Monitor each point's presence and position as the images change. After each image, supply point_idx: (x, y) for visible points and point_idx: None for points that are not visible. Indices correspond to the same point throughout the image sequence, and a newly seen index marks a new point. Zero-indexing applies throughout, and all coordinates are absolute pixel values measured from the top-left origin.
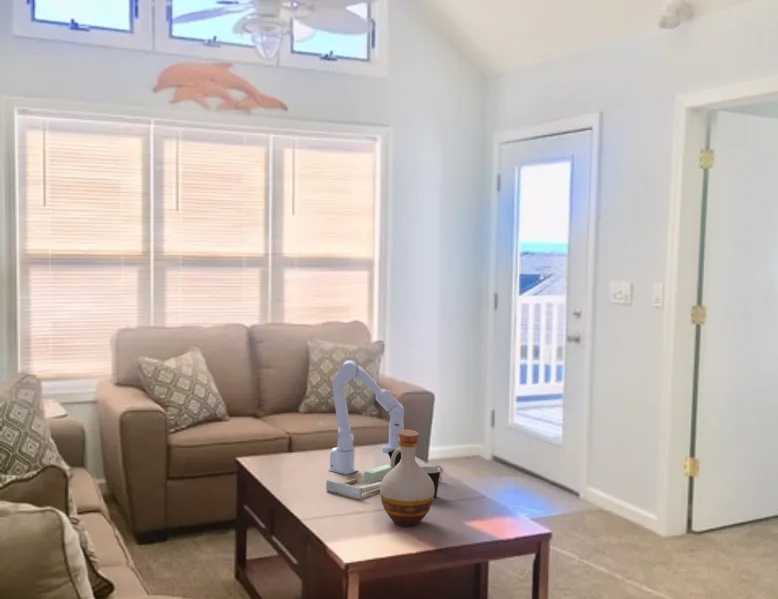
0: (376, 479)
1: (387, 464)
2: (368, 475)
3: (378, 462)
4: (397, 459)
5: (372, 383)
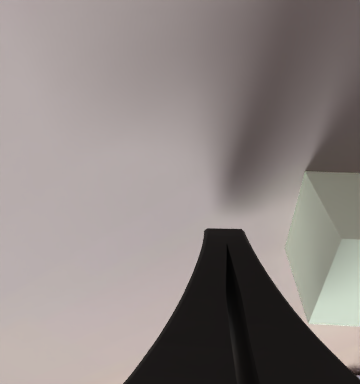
0: None
1: (321, 316)
2: None
3: (100, 376)
4: (281, 312)
5: None
